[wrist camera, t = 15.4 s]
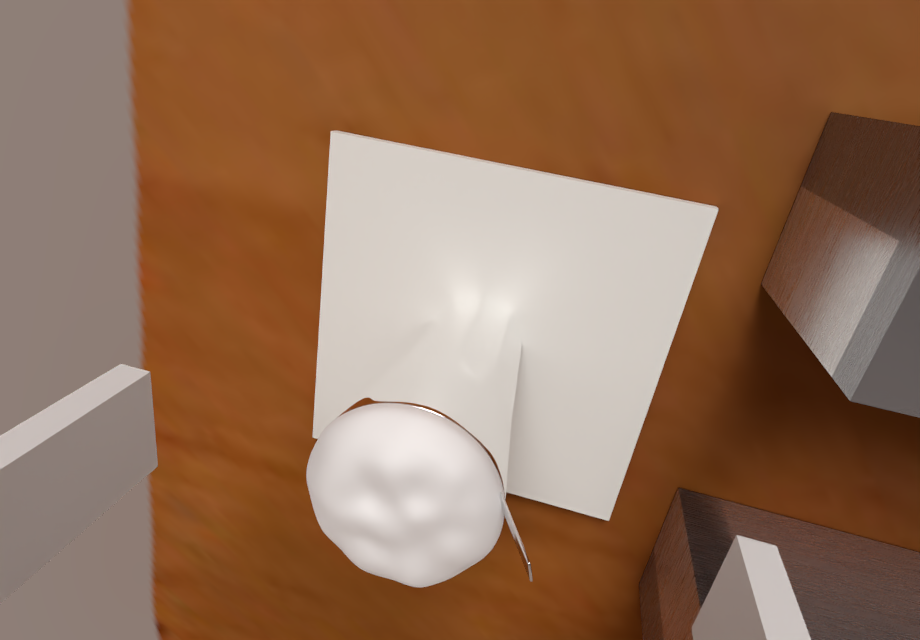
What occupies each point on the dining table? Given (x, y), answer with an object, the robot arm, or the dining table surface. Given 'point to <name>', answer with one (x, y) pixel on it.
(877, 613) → the brackets
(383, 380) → the milkshake
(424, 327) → the pad
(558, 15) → the dining table surface
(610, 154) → the dining table surface
